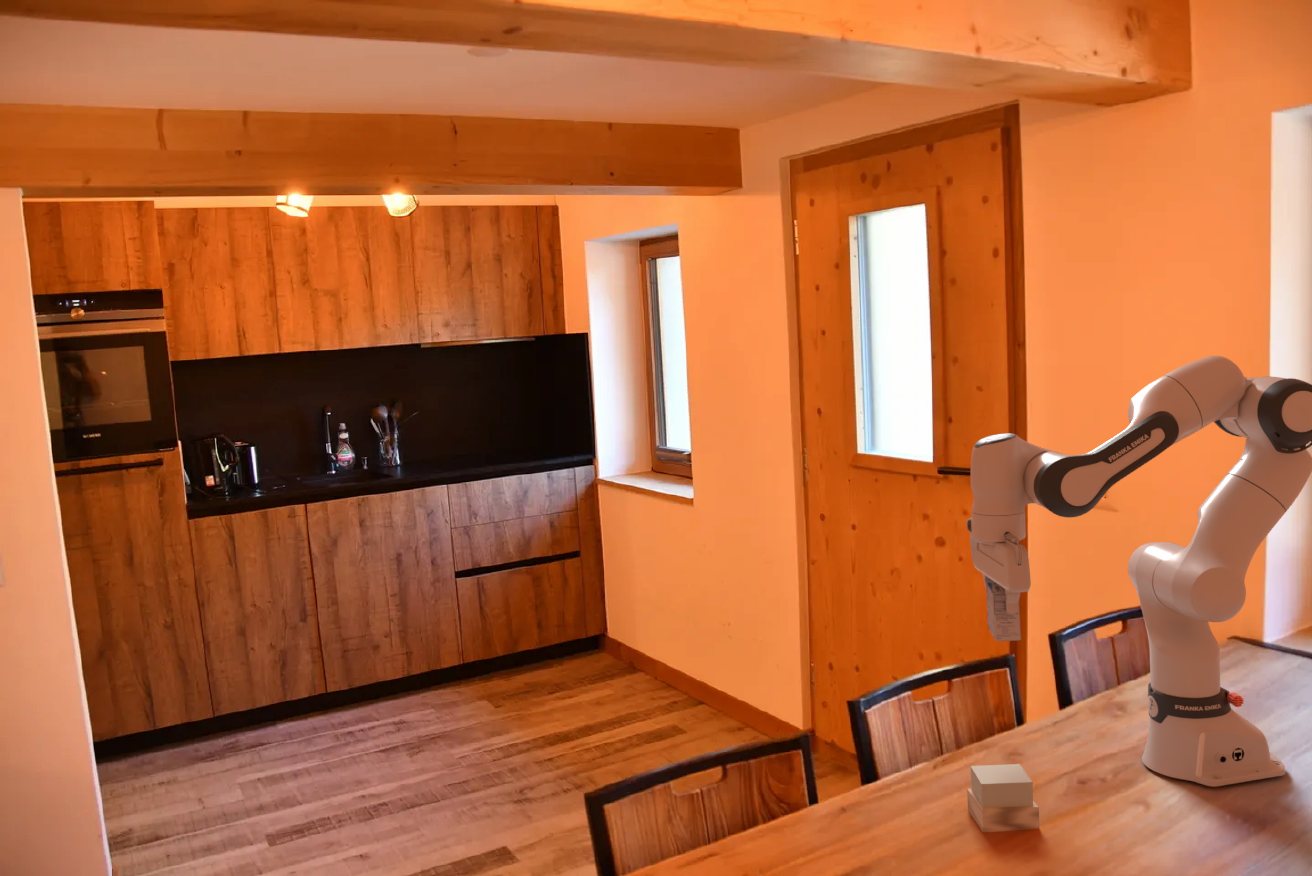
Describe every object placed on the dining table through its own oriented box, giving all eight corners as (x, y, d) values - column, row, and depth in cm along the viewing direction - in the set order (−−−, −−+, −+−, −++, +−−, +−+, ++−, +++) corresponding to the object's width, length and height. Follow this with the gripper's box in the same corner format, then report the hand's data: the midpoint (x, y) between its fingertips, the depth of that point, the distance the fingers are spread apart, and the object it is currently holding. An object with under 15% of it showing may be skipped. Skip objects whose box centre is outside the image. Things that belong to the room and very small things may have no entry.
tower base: (1021, 808, 175) (1021, 785, 175) (1039, 831, 167) (1038, 807, 167) (967, 811, 175) (967, 788, 175) (982, 834, 167) (982, 810, 167)
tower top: (1020, 787, 174) (1019, 764, 174) (1033, 806, 167) (1032, 782, 167) (971, 789, 174) (970, 766, 174) (982, 808, 168) (981, 784, 167)
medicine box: (1021, 641, 180) (1019, 591, 179) (994, 642, 181) (992, 592, 180) (1013, 628, 188) (1011, 580, 187) (987, 628, 188) (985, 581, 188)
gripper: (1039, 537, 172) (1041, 620, 173) (997, 516, 192) (1000, 590, 194) (1000, 540, 172) (1003, 623, 173) (963, 519, 192) (966, 593, 194)
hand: (1001, 605), depth 184 cm, fingers closed on medicine box, 8 cm apart
